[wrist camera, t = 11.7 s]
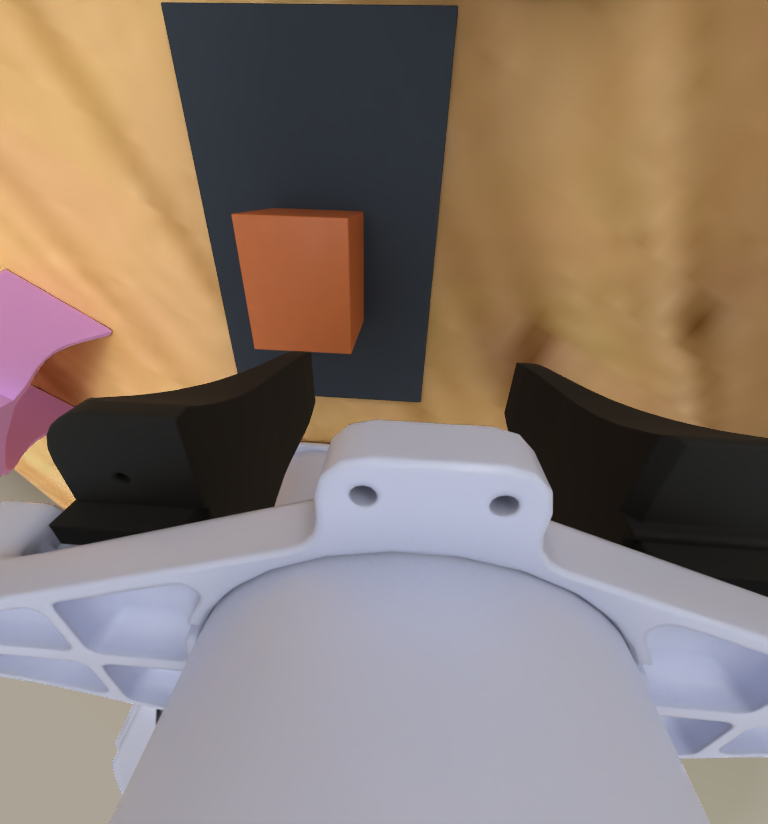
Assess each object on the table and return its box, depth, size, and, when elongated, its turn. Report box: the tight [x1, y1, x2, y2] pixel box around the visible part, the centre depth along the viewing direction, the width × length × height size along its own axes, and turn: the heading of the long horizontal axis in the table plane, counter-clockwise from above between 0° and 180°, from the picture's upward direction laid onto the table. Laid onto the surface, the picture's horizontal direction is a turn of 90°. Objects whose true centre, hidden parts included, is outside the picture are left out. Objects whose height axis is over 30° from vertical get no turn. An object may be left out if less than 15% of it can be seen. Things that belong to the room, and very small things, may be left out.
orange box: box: [231, 208, 364, 354], centre depth 17 cm, size 6×5×5 cm
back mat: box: [161, 2, 458, 402], centre depth 19 cm, size 18×12×1 cm, turn 178°
